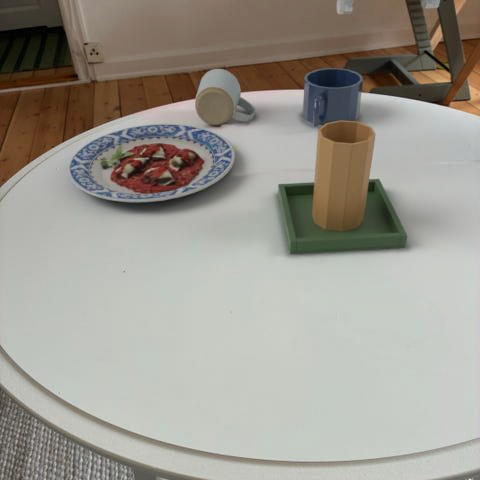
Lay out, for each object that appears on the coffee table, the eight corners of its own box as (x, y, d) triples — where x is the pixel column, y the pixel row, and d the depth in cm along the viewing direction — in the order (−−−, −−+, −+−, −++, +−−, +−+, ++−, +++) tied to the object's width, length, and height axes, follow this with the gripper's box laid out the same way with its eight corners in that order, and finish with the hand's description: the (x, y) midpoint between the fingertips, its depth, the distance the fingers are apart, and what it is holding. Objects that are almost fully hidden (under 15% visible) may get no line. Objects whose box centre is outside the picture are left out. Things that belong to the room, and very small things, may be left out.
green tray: (377, 190, 79) (379, 178, 78) (404, 248, 68) (407, 235, 67) (278, 195, 79) (278, 183, 77) (289, 254, 68) (290, 242, 67)
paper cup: (356, 203, 76) (367, 118, 68) (367, 230, 71) (380, 143, 62) (309, 205, 76) (314, 121, 67) (317, 233, 71) (324, 145, 62)
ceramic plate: (266, 157, 88) (266, 139, 85) (163, 233, 72) (161, 214, 70) (147, 124, 99) (144, 108, 97) (36, 184, 83) (30, 166, 81)
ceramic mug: (194, 127, 97) (191, 83, 91) (201, 109, 103) (198, 67, 97) (253, 129, 96) (253, 85, 91) (256, 111, 102) (257, 68, 97)
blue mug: (314, 103, 103) (316, 65, 99) (365, 111, 100) (370, 72, 95) (287, 130, 95) (288, 89, 90) (341, 139, 91) (345, 98, 87)
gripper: (504, -166, 52) (469, -4, 62) (295, -152, 52) (292, 8, 62) (534, -164, 48) (491, 11, 57) (304, -150, 47) (299, 24, 57)
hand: (386, 10), depth 59 cm, fingers open, 8 cm apart
